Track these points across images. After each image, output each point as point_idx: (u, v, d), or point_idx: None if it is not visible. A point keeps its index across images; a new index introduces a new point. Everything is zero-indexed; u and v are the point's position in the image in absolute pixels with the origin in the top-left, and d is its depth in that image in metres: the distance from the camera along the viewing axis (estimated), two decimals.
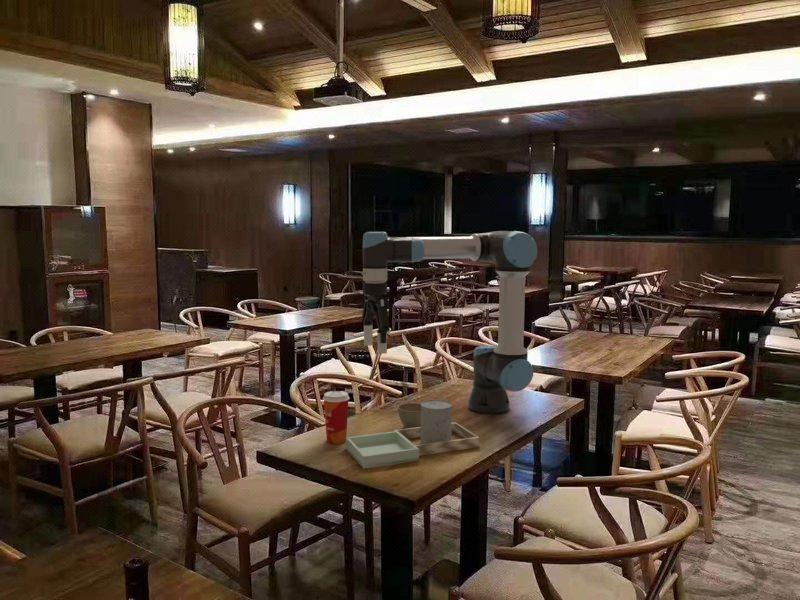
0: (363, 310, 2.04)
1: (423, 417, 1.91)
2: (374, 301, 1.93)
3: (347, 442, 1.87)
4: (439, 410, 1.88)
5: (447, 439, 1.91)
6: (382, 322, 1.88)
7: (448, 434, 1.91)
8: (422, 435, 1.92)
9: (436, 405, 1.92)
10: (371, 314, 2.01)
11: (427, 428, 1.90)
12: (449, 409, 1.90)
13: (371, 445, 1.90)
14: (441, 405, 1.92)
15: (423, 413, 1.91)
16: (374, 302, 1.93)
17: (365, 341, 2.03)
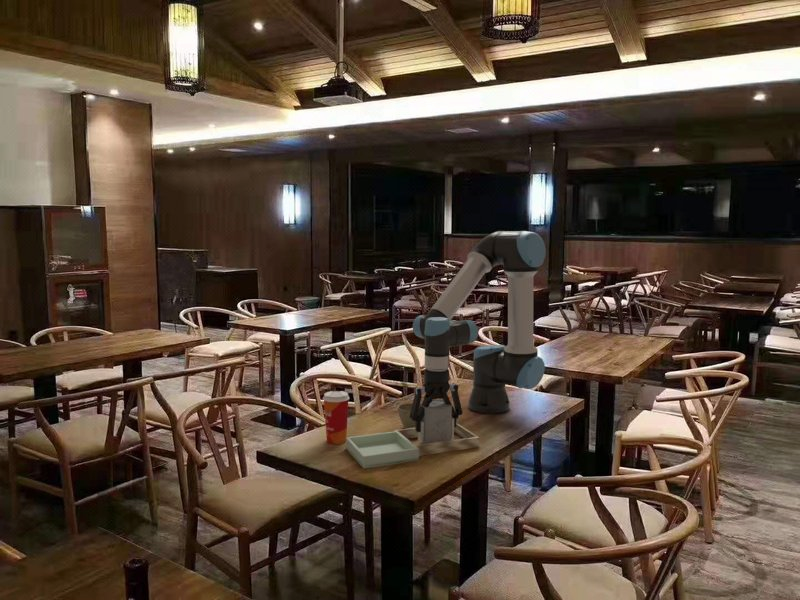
0: None
1: (423, 417, 1.91)
2: None
3: (347, 442, 1.87)
4: (439, 410, 1.88)
5: (447, 439, 1.91)
6: (411, 410, 1.91)
7: (448, 434, 1.91)
8: None
9: (435, 405, 1.92)
10: (446, 403, 1.94)
11: (427, 428, 1.90)
12: (449, 409, 1.90)
13: (371, 445, 1.90)
14: (441, 405, 1.92)
15: None
16: None
17: None
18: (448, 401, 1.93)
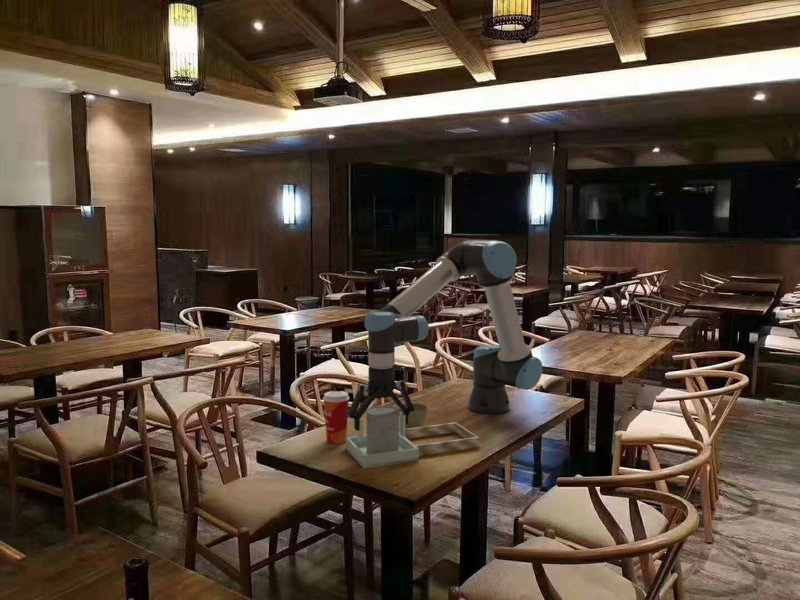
0: None
1: (368, 424, 1.81)
2: None
3: (347, 442, 1.87)
4: (384, 417, 1.79)
5: (393, 448, 1.81)
6: (350, 407, 1.80)
7: (394, 442, 1.81)
8: (367, 443, 1.82)
9: (382, 412, 1.83)
10: (394, 401, 1.84)
11: (372, 436, 1.80)
12: (395, 416, 1.81)
13: None
14: (387, 412, 1.83)
15: (368, 420, 1.81)
16: None
17: (400, 429, 1.87)
18: (396, 399, 1.83)
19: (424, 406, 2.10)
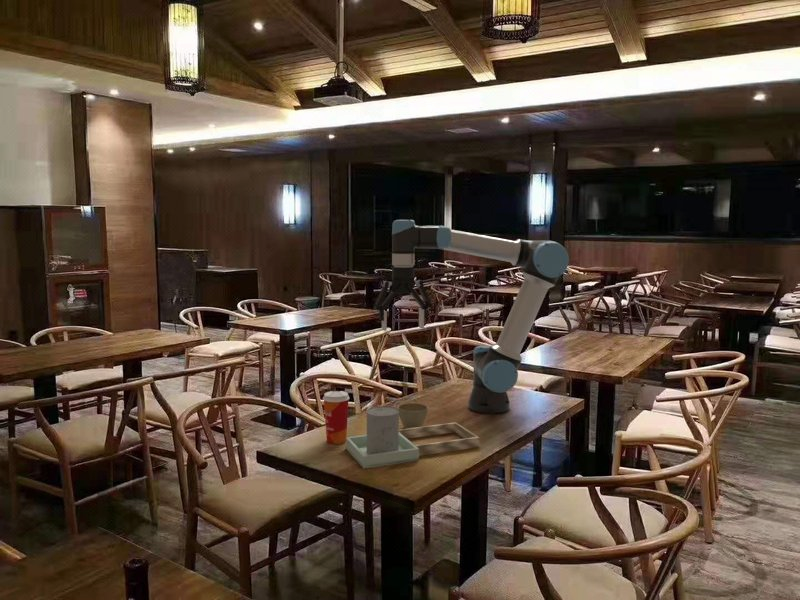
0: None
1: (368, 424, 1.81)
2: None
3: (347, 442, 1.87)
4: (384, 417, 1.79)
5: (393, 448, 1.81)
6: (376, 300, 2.09)
7: (394, 442, 1.81)
8: (367, 443, 1.82)
9: (382, 412, 1.83)
10: (414, 297, 2.13)
11: (372, 436, 1.80)
12: (395, 416, 1.81)
13: None
14: (387, 412, 1.83)
15: (368, 420, 1.81)
16: None
17: (419, 323, 2.16)
18: (416, 295, 2.12)
19: (424, 406, 2.10)
